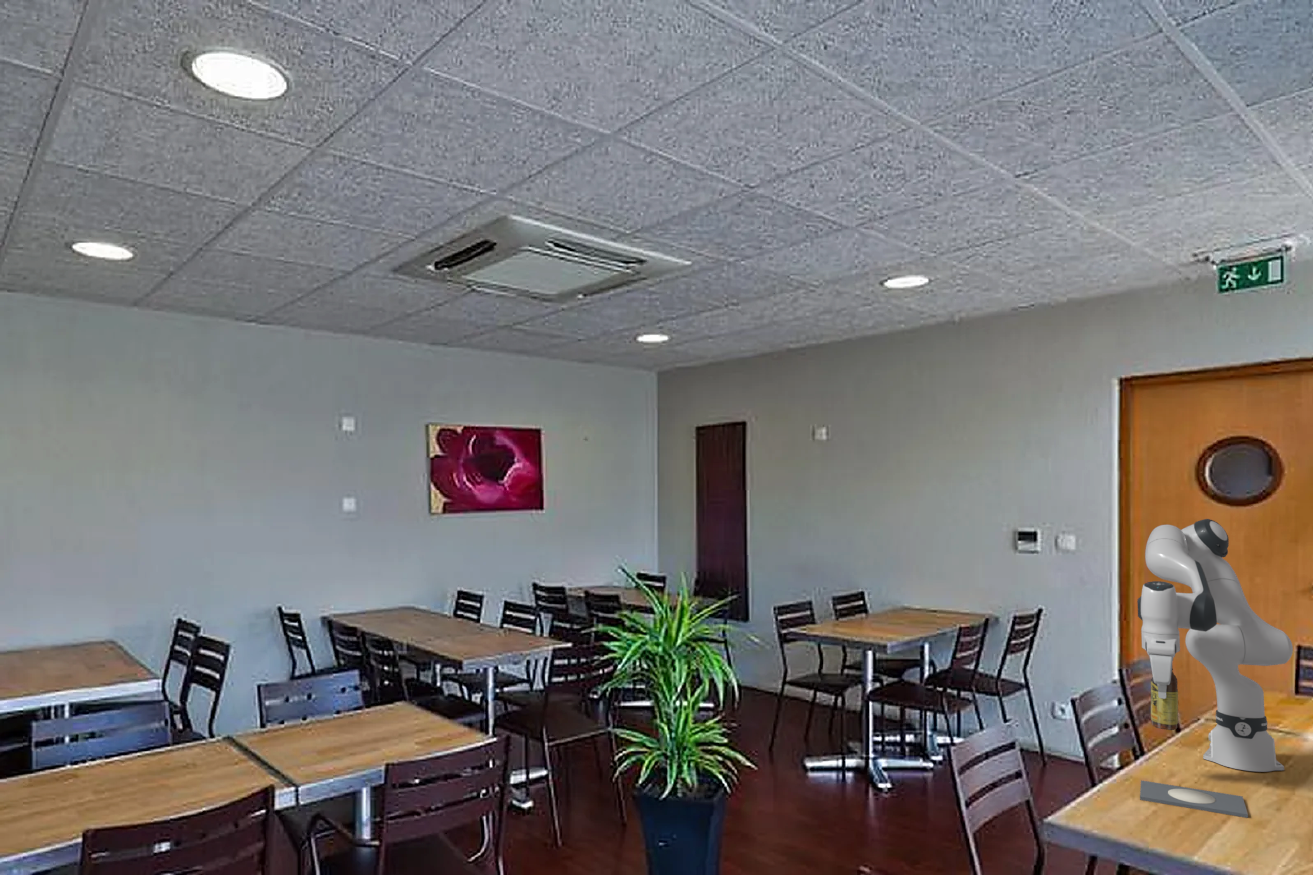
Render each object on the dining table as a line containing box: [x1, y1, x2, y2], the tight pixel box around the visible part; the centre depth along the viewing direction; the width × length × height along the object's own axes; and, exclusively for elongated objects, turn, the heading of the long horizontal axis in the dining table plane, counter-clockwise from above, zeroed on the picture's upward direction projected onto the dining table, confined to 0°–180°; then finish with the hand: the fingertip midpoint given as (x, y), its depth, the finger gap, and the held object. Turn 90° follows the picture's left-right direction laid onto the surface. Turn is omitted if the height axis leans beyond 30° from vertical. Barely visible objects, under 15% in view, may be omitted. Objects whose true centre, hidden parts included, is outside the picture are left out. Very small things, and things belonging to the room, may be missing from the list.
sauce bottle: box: [1150, 667, 1179, 731], centre depth 223 cm, size 7×6×20 cm
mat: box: [1139, 779, 1249, 819], centre depth 207 cm, size 14×22×1 cm, turn 59°
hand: (1162, 695), depth 223 cm, fingers closed on sauce bottle, 6 cm apart
